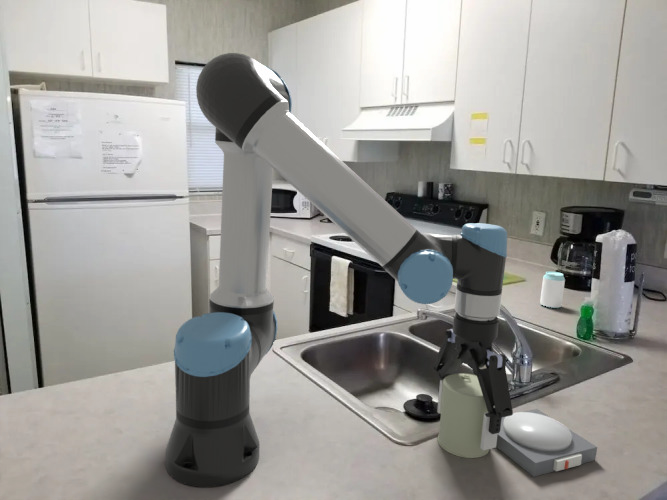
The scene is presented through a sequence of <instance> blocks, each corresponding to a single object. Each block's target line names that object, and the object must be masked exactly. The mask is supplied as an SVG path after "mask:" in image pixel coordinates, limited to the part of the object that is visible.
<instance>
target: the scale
mask: <svg viewBox="0 0 667 500" xmlns="http://www.w3.org/2000/svg"><path fill="white" fill-rule="evenodd" d="M496 448H497V449H498V450H499V451H501V452H502V453H503V454H504V455H506V456H507V457H508V458H510V459H511V460H512V461H513V462H515V463H516V464H517V465H518V466H520V467H521V468H522V469H523V470H525V471H526V472H527V473H528V474H529V475H531V476H532V477H538V476H541V475H544V474H545V475H546V474H549V473H552V472H559V471H563V470H568V469H570V468H574V467H577V466H581V465H583V464H585V463H586V464H587V463H590V462H593V461H596V459H597V458H596V457H597V451H598V446H596V445H595V444H593V443H592V442H590V441H588V440H587V439H586V438H584V437H583V436H581V435H579V434H578V433H576V432H575V431H573V430H571V429H570V428H569V427H568V426H566V425H565V424H563V423H562V422H560V421H558V420H557V419H554V418H553V417H551V416H550V415H548V414H546V413H544V412H543V411H541V410H539V409H538V408H535V409H529V410H524V411H519V412H518V411H517V412H513V415H511V416H507V417H502V419H501V427H500V432H499V433H498V435H497V443H496Z"/></svg>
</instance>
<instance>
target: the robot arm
mask: <svg viewBox="0 0 667 500" xmlns="http://www.w3.org/2000/svg"><path fill="white" fill-rule="evenodd" d="M195 87H196V93H195V94H196V100H197V104H198V107H199V109H200V111H201V112H202V114H203V116H204V117H205V118H206V119H207V121H208V122H209V123H210V124H211V125H212V126H214V127H215V137H214V138H215V139H214V141H215V145H217V147H219V149H221V151H222V153H223V164H222V165H223V168H222V169H223V171H222V191H221V192H222V193H221V194H222V197H221V214H220V215H221V217H220V219H221V221H220V222H221V223H220V242H219V243H220V245H219V247H220V248H219V269H218V270H219V271H218V273H219V274H218V286H217V288H215V289H214V290H213V291H212V292H211V293H210V294H209V305H208V313H204V314H202V315H201V316H198V315H197V316H196V315H195V316H194V317H191V318H190V319H188V320H187V321H185V322H184V323H182V325H180V327H179V328H178V330H177V332H176V334H175V339H174V340H175V341H174V348H173V359H174V376H175V377H174V378H175V379H174V380H175V381H174V383H175V417H176V418H175V421H174V423H173V427H172V430H171V432H170V435H169V439H168V441H167V444H166V448H165V452H164V453H165V469H166V471H167V473H168V474H169V475H170V477H172V478H173V479H174V480H176V481H177V482H179V483H181V484H184V485H189V486H191V487H192V486H194V487H201V488H202V487H203V488H205V487H207V488H208V487H211V488H212V487H219V486H223V485H228V484H231V483H233V482H236V481H238V480H241V479H242V478H244V477H246V476H247V475H248V474H250V473H251V472H252V471H253V470H254V469H255V467H256V466H257V465H258V463H259V459H260V448H261V446H260V439H259V436H258V433H257V431H256V427H255V425H254V423H253V419H252V417H251V413H250V396H251V394H250V393H251V391H250V388H251V386H250V383H251V376H252V375H253V372H255V369H257V367H258V366H259V364H260V363H261V362H262V361H263V359H264V357H265V355H267V354H268V353H269V351H270V350H271V349H272V347H273V345H274V342H275V340H276V337H277V333H278V319H277V316H276V312H275V311H274V304H275V299H274V295H273V294H272V293H271V292H270V290H269V289H268V288H267V283H268V282H267V280H268V264H269V249H270V248H269V246H270V229H271V212H272V195H273V192H272V191H273V178H274V171H275V172H277V173H278V174H279V175H280V176H281V177H282V178H283V179H284V180H286V182H288V184H290V185H291V186H292V187H294V189H296V190H297V191H298V192H299V193H300V194H301V195H302V196H303V197H304V198H305V199H306V200H308V201H309V202H310V203H311V204H312V205H313V206H314V207H315V208H317V210H319V211H320V212H321V213H322V214H323V215H324V216H325V217H326V218H328V219H329V220H330V221H331V222H332V223H333V224H335V226H336V227H338V229H340V230H341V231H342V232H343V233H344V234H345V235H347V237H349V239H351V240H352V241H353V242H355V244H357V246H359V247H360V248H361V249H362V250H363V251H364V252H365V253H366V254H367V255H369V256H370V257H371V258H372V259H373V260H374V261H375V262H376V263H377V264H379V265H380V266H381V267H382V269H384V270H385V272H387V273H388V274H389V275H390V276H391V277H392V278H393V279H394V280H395V281H396V282H397V283H398V286H399V288H400V289H401V291H402V292H403V294H404V295H405V297H407V298H408V299H409V300H410V301H412V302H414V303H417V304H421V305H431V304H436V303H438V302H440V301H441V300H443V299H444V298H446V296H447V295H448V294H449V292H450V290H451V289H452V285H453V282H454V281H453V280H456V281H457V283H456V289H455V296H454V297H455V298H454V306H453V307H454V310H455V313H454V314H453V319H452V320H453V322H452V328H450V329H445V330H444V334H443V340H442V343H441V346H440V348H439V350H438V353H437V355H436V358H435V360H434V362H433V364H432V371H433V372H434V373H435V372H436V374H437V378H438V388H437V390H438V400H437V408H436V409H437V410H436V411H437V412H436V413H438V414H440V415H441V407H442V395H443V380H444V378H445V377H447V376H448V375H452V374H456V372H457V371H458V370H459V368H460V367H461V366H462V365H464V364H465V365H467V366H468V368H470V369H472V373H473V375H476V376H477V378H478V381H479V384H480V388H481V391H482V394H483V397H484V401H485V404H486V407H487V410H488V412H485V413H484V418H483V428H482V437H481V446H480V448H481V449H482V450H487V449H490V450H491V449H496V448H497V447H496V443H497V435H498V433H499V432H500V427H501V419H502V417H507V416H511V415H513V413H514V412H513V405H512V399H511V394H510V388H509V382H508V381H509V380H508V375H507V370H506V367H507V366H506V364H507V363H506V362H507V356H506V355H505V354H504V353H500V354H498V353H496V352H494V350H493V349H494V348H493V343H494V342H495V340H496V339H497V338H498V333H499V332H498V331H499V324H500V319H499V318H498V316H499V315H500V313H501V303H502V294H503V293H502V292H503V285H504V276H505V270H506V269H505V267H506V260H507V257H508V253H507V250H508V232H507V230H506V229H505V228H504V227H502V226H501V225H498V224H497V225H496V224H490V223H484V222H483V223H479V222H477V223H473V222H472V223H471V222H470V223H465V224H464V225H462V227H461V231H460V234H441V233H439V234H438V233H429V232H428V233H427V232H420V231H419V230H418V229H417V228H416V227H414V226H413V224H412V223H410V222H409V221H408V220H407V219H406V218H405V217H404V216H403V215H402V214H400V213H399V212H398V211H397V210H396V209H395V208H394V207H393V206H392V205H391V204H390V203H388V201H386V200H385V199H384V198H383V197H382V196H381V195H380V194H379V193H378V192H376V191H375V190H374V189H373V187H371V186H370V185H369V184H368V183H367V182H365V181H364V179H362V177H360V176H359V175H358V174H357V173H356V172H355V171H354V170H352V168H350V167H349V166H348V165H347V164H346V163H345V162H344V161H342V160H341V158H339V157H338V156H337V155H336V154H335V153H334V152H333V151H332V150H330V148H329V147H327V145H325V144H324V143H323V141H321V140H320V139H319V138H318V137H316V136H315V135H314V134H313V133H312V132H311V131H310V130H309V129H308V128H307V127H305V126H304V124H303V123H302V122H300V121H299V120H298V119H297V118H296V117H295V116H294V115H293V114H292V109H293V108H292V104H293V103H292V102H293V101H292V96H291V92H290V90H289V87H288V85H287V84H286V82H285V80H284V79H283V78H282V76H280V74H279V73H278V72H277V71H275V70H274V69H273V68H271V67H269V66H267V65H264V64H262V63H260V62H259V61H257V60H256V59H254V58H253V57H250V56H249V55H246V54H244V53H239V52H228V53H224V54H223V53H222V54H219V55H218V56H215V57H214V58H211V60H209V61H208V62H207V63H206V64H205V65H204V67H202V70H201V72H200V74H199V75H198V78H197V81H196V86H195ZM484 367H485V368H484Z"/></svg>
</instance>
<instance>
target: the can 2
mask: <svg viewBox="0 0 667 500" xmlns="http://www.w3.org/2000/svg"><path fill="white" fill-rule="evenodd" d="M542 277H543V278H542V283H541V284H542V285H541V291H540V292H541V293H540V302H539V304H540V305H541V306H542V305H543V306H542V307H544V306H546V307H545V308H547V307H551V308H550V309H552V308H557V309H559V308H561V307H562V304H563V297H564V289H565V282H566V279H565V277H564V273H561V272H558V271H545V274H544V275H543V276H542Z"/></svg>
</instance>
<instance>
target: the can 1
mask: <svg viewBox="0 0 667 500" xmlns="http://www.w3.org/2000/svg"><path fill="white" fill-rule="evenodd" d="M485 412H488V410H487V407H486V404H485V401H484V397H483V394H482V391H481V388H480V384H479V381H478V378H477V376H476V375H474V374H471V373H454V374H452V375H448V376H447V377H445V378H444V380H443V395H442V407H441V414H440V417H439V418H440V420H439V429H438V435H437V443H438V444H439V445H440V446H439V447H440V448H442V449H443V450H444V451H446V452H447V453H449V454H451V455H454V456H456V457H459V458H460V457H461V458H466V459H478V458H482V457H484V456H486V455H487V454H488V453H489V452H490V450H491V449H487V450H482V449H481V448H480V446H481V437H482V428H483V418H484V413H485Z"/></svg>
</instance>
